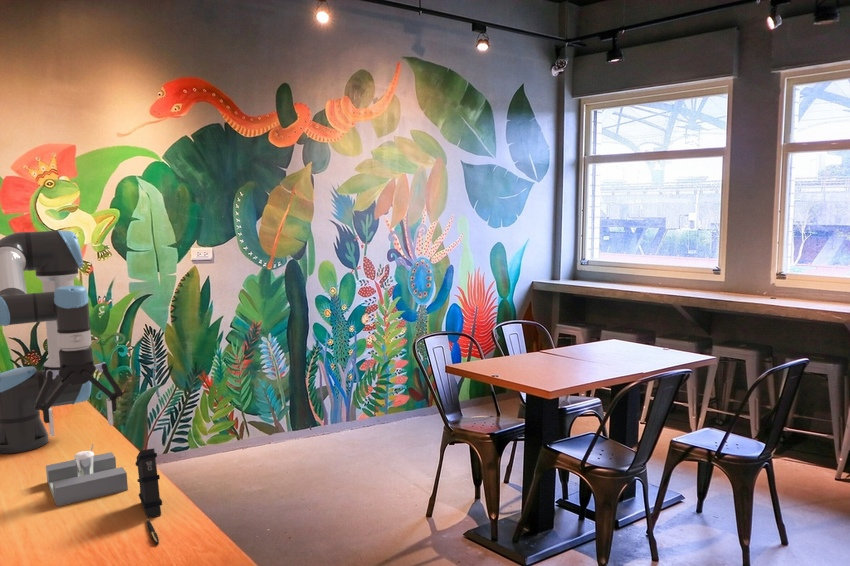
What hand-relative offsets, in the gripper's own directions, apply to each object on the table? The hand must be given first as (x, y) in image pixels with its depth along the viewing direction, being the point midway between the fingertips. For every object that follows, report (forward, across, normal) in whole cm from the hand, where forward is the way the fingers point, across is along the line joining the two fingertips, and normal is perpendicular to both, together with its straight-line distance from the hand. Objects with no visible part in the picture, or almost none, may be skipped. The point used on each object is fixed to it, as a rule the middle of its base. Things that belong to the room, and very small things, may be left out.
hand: (82, 429), depth 178 cm
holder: (+15, 0, 0) cm, 15 cm away
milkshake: (+15, 0, 0) cm, 15 cm away
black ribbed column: (+15, +10, -24) cm, 30 cm away
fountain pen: (+15, +7, -39) cm, 42 cm away
